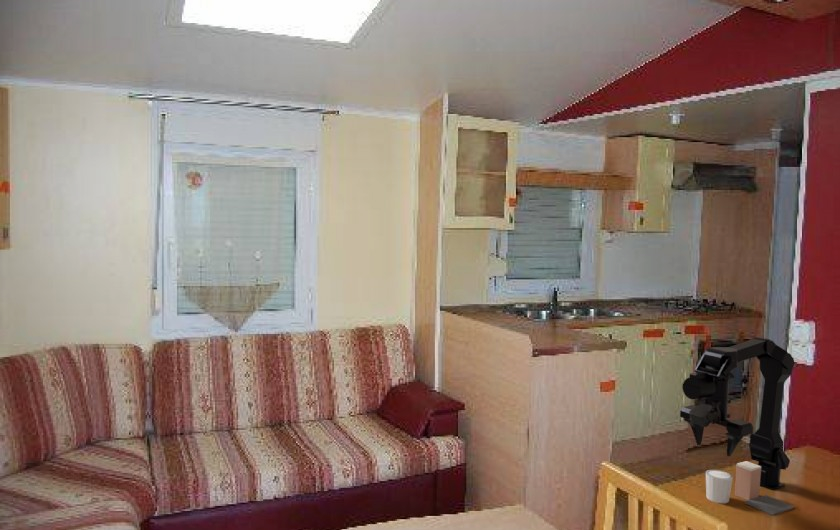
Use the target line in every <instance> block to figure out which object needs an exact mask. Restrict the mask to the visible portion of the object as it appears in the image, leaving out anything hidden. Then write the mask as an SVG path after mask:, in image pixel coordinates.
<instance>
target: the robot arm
mask: <svg viewBox="0 0 840 530" xmlns="http://www.w3.org/2000/svg"><path fill="white" fill-rule="evenodd" d="M754 358H756V359H757V361H759V371H760V373H761V376H762V378H763V379H764V382H763V388H762V389H763V390H762V401H761V408H760V410H761V411H760V417H759V418H760V419H759V425H758V429H756V431H755V432H754V425H753V424H752V422H749V421H746V420H743V419H740V418H738V419H733V420H728V419H730V418H731V414H730V413H728V405H729V404H731V403H732V399H730V398H729V388H730V379H734V378H735V375H734V374H733V373H732V371H733V370H735V369H737V368H738V365H739V363H742V362H744V361H747V360H750V359H754ZM794 366H795V360H794V357H793V356H792V354H791V353H789V352H788V351H787V350H785V349H784V348H782V347H781V346H779V345H777V344H776V343H775V341H773V340H772V339H770V338H764V337H759V336H756V337H753V338H752V339H750V340H747V341H744V342H741V343H737V344H735V345H731V346H729V347H725V346H724V347H722V346H715V347H714V346H713V347H707V348H706V349H705V350H704V352H703V353H702V356H701V357H700V358H699V361H698V363H697V365H696V367H695V369H694V372H691V373H689V377H688V378H685V379H684V381H683V383H682V392H683V394H684V395H685V396H686V398H688V399H690V400H699V399H701V400H700V404H699V405H694V404H691V405H685V406H683V407H682V408H681V409H680V410H679V417H680V418H682V419H683V421H684V422H685V423H687V424H688V425H689V426H690V428H691V431H692V433H693V436H694V440H695V442H696V445H697V446H701V445H702V442H703V437H704V429H705V428H706V427H708V426H709V425H710V424H712V425H719V426H722V427H725V429H726V431H727V432H725V433H724V434H725V436H726V438H727V440H726V441H727V442H726V456H727V457H731V456H732V455H733V453H734V451H735V449H736V448H737V446H738V444H739V443H740V442H741V440H742V439H743V437H746V436H749V444H748V447H749V452H750V457H751V460H752V461H756V462H757V465H759V466H761V476H760V486H762V487H765V488H767V489H769V490H775V489H779V488H782V487H785V483H784V482H781V471H782V470H784V471H785V470H787V468H789V466H790V462H791V460H790V458H789V457H788V456H787V454H786V452H785V451H784V440H783V439H782V436H781V434H780V431H779V428H780V421H781V413H782V412H781V411H782V402H783V395H784V385H785V382H786V381H787V380H788V379H789V378H790V377H791V376H792V373H793V369H794Z"/></svg>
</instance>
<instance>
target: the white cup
mask: <svg viewBox="0 0 840 530" xmlns="http://www.w3.org/2000/svg"><path fill="white" fill-rule="evenodd" d="M733 479H734V477H733V475H732V474H731V473H729V472H726V471H724V470H719V469H708V470H706V471H705V490H706V492H705V493H706V498H707V500H708V501H711V502H713V503H718V504H727V503H729V502H730V497H731V490H732V486H733Z"/></svg>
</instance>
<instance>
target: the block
mask: <svg viewBox="0 0 840 530" xmlns="http://www.w3.org/2000/svg"><path fill="white" fill-rule="evenodd" d="M735 469H736V470H735V483H734V484H735V485H734V495H735V496H736V497H739V498H741V499H744V500H745V501H748V500H751V499H754V498H758V497H760V489H761V488H760V487H761V485H760V476H761V466H759V465H758V464H756V463H753V462H750V461H747V460H746V461H742V462H737V463H736V468H735Z"/></svg>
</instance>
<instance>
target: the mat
mask: <svg viewBox="0 0 840 530" xmlns="http://www.w3.org/2000/svg"><path fill="white" fill-rule="evenodd" d="M743 504H744V505H748V506H749V507H752V508H754V509H757V510H758V511H760V512H764V513H766V514H767V515H770V516H776V515H778V514H781V513H784V512H787V511H790V510H794V509H795V508H796V506H794V505H792V504H789V503H786V502H784V501H783V500H779V499H777V498H775V497H772V496H770V495H767V494H765V495H761V496H759V497H758V498H754V499H751V500H745V501H743Z"/></svg>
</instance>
